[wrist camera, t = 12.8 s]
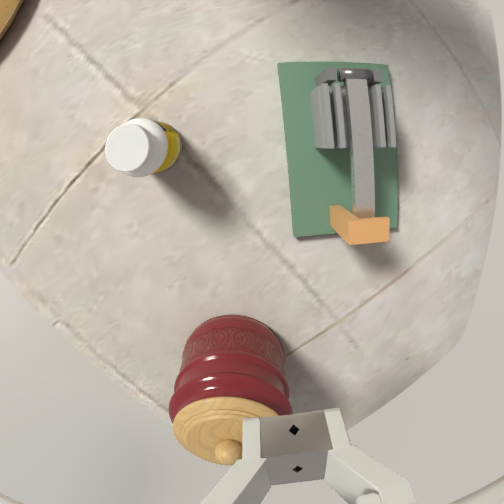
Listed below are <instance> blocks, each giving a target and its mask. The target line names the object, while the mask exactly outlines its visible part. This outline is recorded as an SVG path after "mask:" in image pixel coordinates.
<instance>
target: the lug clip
mask: <svg viewBox="0 0 504 504" xmlns="http://www.w3.org/2000/svg"><path fill="white" fill-rule="evenodd" d="M329 212H330V226H331V227H332V228H333V229H334V230H335V231H336V232H337V233H338V234H339V235H340V236H341V237H342V238H343V240H344V241H345V242H346V243H347V244H348V245H354V244H355V245H357V244H367V243H377V242H387V241H389V225H390V218H389V217H374V218H362V219H359V218H358V217H356V216H355V215H353V214H352V213H351V212H349V211H348V210H346V209H345V208H344V207H342V206H341V205H331V206H329Z"/></svg>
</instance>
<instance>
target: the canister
mask: <svg viewBox="0 0 504 504" xmlns="http://www.w3.org/2000/svg"><path fill="white" fill-rule="evenodd" d="M291 414H292V407H291V404H290V402H289V387H288V384H287V381H286V377H285V371H284V355H283V350H282V347H281V344H280V343H279V341H278V339H277V337H276V336H275V334H274V333H273V332H272V331H271V330H270V329H269V328H268V327H267V326H266V325H264V324H263V323H261V322H259V321H257V320H255V319H253V318H250V317H246V316H241V315H224V316H219V317H215V318H212V319H210V320H207V321H206V322H204V323H202V324H201V325H200V326H198V327H197V328H196V329H195V331H194V332H193V333H192V335H191V336H190V337H189V339H188V340H187V342H186V345H185V348H184V351H183V361H182V364H181V368H180V372H179V375H178V376H177V378H176V381H175V386H174V394H173V396H172V397H171V400H170V403H169V415H170V419H171V421H172V423H173V432H174V435H175V437H176V439H177V440H178V442H179V443H180V444H181V445H182V446H183V447H184V448H185V449H186V450H188V451H189V452H190V453H192V454H194V455H196V456H198V457H200V458H202V459H204V460H206V461H209V462H212V463H216V464H221V465H234V463H235V462H236V461H237V460H239V459H242V447H243V419H244V418H255V417H269V416H283V415H291Z"/></svg>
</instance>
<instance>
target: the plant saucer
mask: <svg viewBox="0 0 504 504" xmlns="http://www.w3.org/2000/svg"><path fill="white" fill-rule="evenodd" d="M22 2H23V0H0V40H1V38H2V37H3V36H4V34H5V33H6V31H7V30H8V28H9V27H10V25H11V23H12V22H13V20H14V18H15V16H16V14H17V13H18V11H19V9H20V7H21V5H22Z"/></svg>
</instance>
